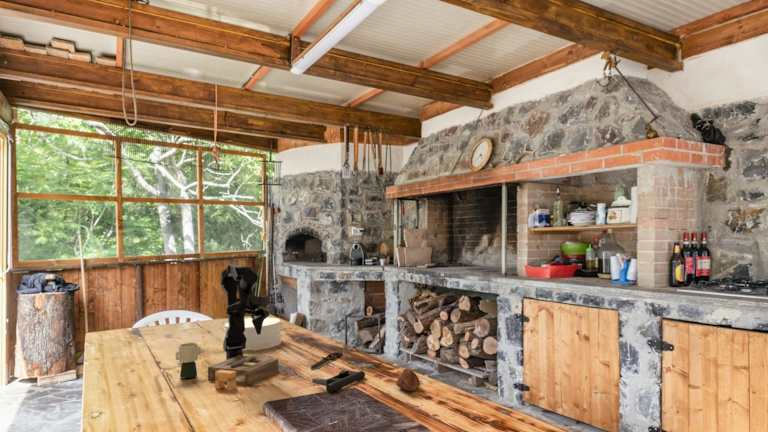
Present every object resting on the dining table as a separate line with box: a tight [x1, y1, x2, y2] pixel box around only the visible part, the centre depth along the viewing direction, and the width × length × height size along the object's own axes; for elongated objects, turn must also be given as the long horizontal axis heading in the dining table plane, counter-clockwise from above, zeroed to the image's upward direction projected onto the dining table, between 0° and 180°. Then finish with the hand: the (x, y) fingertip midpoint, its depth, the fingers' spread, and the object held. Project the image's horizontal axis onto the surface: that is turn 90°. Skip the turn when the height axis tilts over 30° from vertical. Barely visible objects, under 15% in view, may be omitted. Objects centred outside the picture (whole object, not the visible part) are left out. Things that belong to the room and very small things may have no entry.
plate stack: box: [223, 317, 282, 352], centre depth 240 cm, size 28×28×12 cm
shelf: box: [207, 353, 279, 385], centre depth 185 cm, size 20×18×7 cm
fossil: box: [395, 368, 421, 392], centre depth 163 cm, size 13×8×10 cm
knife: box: [310, 351, 344, 371], centre depth 202 cm, size 26×7×2 cm, turn 154°
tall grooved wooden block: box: [214, 370, 237, 391], centre depth 170 cm, size 7×3×6 cm, turn 67°
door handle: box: [311, 370, 366, 393], centre depth 172 cm, size 3×20×16 cm
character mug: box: [175, 342, 202, 379], centre depth 185 cm, size 11×7×13 cm, turn 147°
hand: (251, 333), depth 177 cm, fingers open, 9 cm apart
